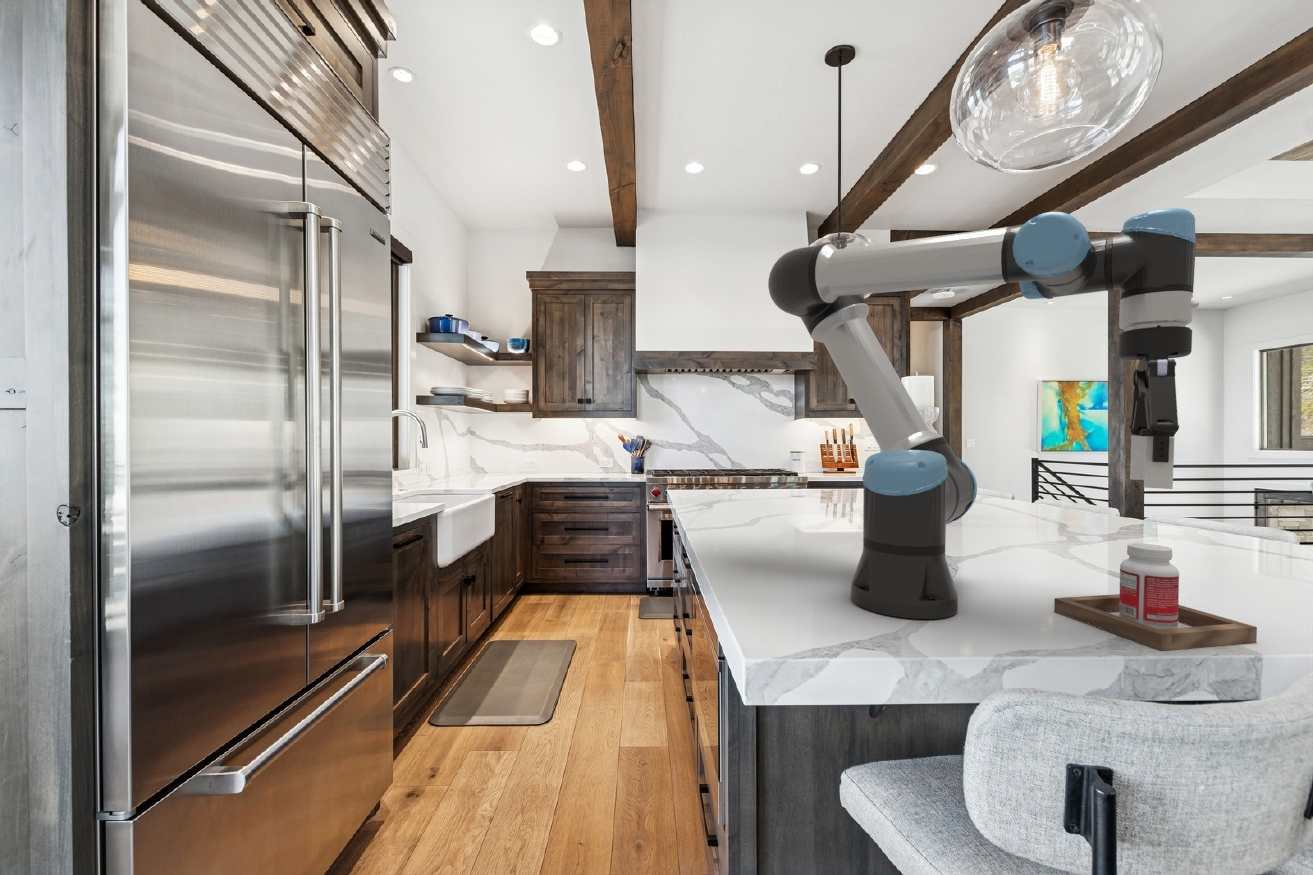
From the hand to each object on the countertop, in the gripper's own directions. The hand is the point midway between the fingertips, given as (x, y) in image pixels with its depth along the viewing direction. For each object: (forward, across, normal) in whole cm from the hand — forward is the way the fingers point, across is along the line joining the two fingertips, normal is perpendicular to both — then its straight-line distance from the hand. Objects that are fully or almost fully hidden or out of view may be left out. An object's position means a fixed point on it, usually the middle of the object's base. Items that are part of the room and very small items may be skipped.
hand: (1149, 484), depth 79 cm
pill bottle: (+20, 0, 0) cm, 20 cm away
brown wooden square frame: (+20, 0, 0) cm, 20 cm away
